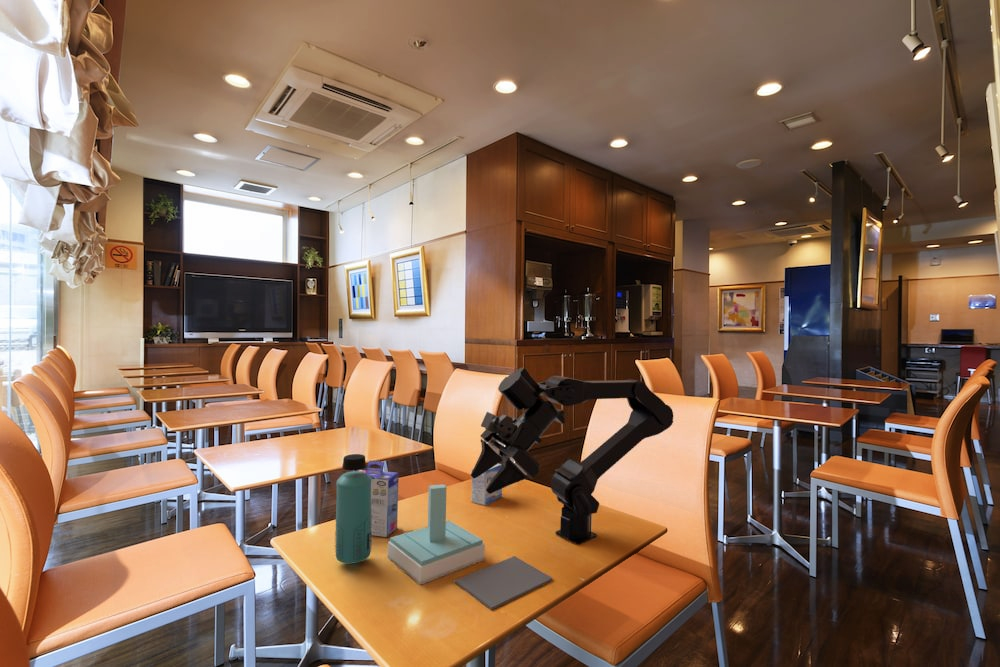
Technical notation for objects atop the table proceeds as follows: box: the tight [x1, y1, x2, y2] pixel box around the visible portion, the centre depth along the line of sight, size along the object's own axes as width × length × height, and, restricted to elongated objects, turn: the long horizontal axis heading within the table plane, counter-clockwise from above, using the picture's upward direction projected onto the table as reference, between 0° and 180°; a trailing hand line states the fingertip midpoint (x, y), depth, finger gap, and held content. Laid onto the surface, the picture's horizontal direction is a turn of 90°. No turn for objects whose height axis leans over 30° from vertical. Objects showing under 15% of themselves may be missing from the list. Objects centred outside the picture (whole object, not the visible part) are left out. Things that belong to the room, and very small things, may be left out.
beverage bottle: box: [334, 453, 373, 564], centre depth 86 cm, size 6×7×20 cm
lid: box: [389, 484, 484, 566], centre depth 88 cm, size 13×11×11 cm
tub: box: [387, 540, 486, 586], centre depth 88 cm, size 14×12×3 cm
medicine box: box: [470, 463, 503, 507], centre depth 120 cm, size 8×4×9 cm, turn 147°
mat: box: [454, 555, 554, 611], centre depth 81 cm, size 14×10×1 cm
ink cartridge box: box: [357, 460, 399, 538], centre depth 100 cm, size 10×6×14 cm, turn 78°
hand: (479, 484), depth 91 cm, fingers open, 9 cm apart
